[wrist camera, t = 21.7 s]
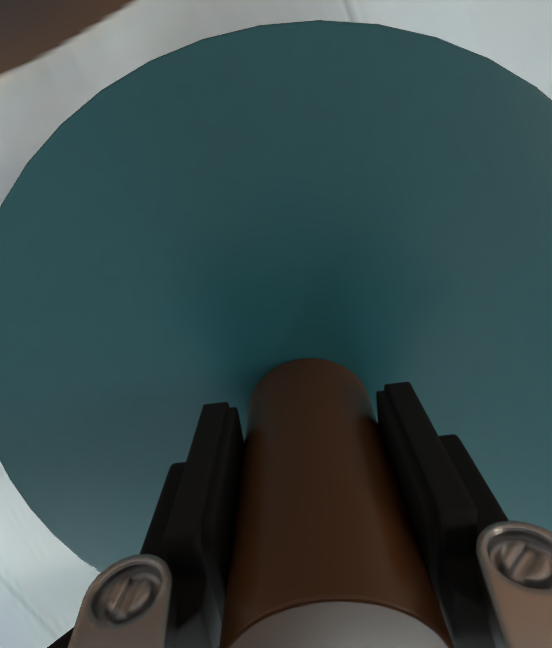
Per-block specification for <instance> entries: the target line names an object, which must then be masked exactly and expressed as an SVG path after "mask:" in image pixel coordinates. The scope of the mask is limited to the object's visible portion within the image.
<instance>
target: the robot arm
mask: <svg viewBox="0 0 552 648" xmlns="http://www.w3.org/2000/svg"><path fill="white" fill-rule="evenodd" d="M376 400H377V416H378V425H379V428H380V431H381V434H382V437H383V440H384V443H385V446H386V449H387V452H388V455H389V458H390V461H391V464H392V467H393V470H394V473H395V476H396V479H397V482H398V485H399V488H400V491H401V493H402V496H403V499H404V502H405V505H406V508H407V511H408V514H409V517H410V520H411V523H412V526H413V529H414V532H415V535H416V538H417V541H418V544H419V547H420V550H421V553H422V556H423V559H424V562H425V565H426V567H427V570H428V573H429V576H430V579H431V582H432V585H433V588H434V590H435V593H436V596H437V599H438V602H439V605H440V608H441V611H442V614H443V617H444V620H445V623H446V626H447V629H448V632H449V635H450V638H451V641H452V644H453V647H454V648H552V532H550V531H548V530H546V529H544V528H543V527H540V526H537V525H534V524H531V523H528V522H522V521H512V520H508V518H507V516H506V515H505V513H504V511H503V510H502V508H501V506H500V505H499V503H498V501H497V500H496V498H495V496H494V495H493V493H492V491H491V490H490V488H489V486H488V485H487V483H486V481H485V480H484V478H483V476H482V475H481V473H480V471H479V470H478V468H477V466H476V465H475V463H474V461H473V460H472V458H471V456H470V455H469V453H468V451H467V450H466V448H465V446H464V445H463V443H462V441H461V440H460V439H459V437H458V436H457V435H455V434H451V435H441V436H438V434H437V432H436V430H435V429H434V427H433V425H432V423H431V421H430V419H429V417H428V415H427V414H426V412H425V410H424V408H423V406H422V404H421V402H420V400H419V399H418V397H417V395H416V393H415V391H414V389H413V387H412V385H411V384H410V382H400V383H391V384H385V385H384V391H377V392H376ZM243 450H244V439H243V434H242V429H241V423H240V418H239V413H238V409H237V407H229V404H228V402H220V403H211V404H204V405H203V408H202V411H201V414H200V418H199V421H198V424H197V427H196V431H195V434H194V437H193V441H192V444H191V447H190V451H189V454H188V457H187V460H186V462H180V463H173V464H172V465H171V467H170V469H169V471H168V474H167V477H166V480H165V483H164V486H163V488H162V491H161V494H160V497H159V500H158V503H157V506H156V509H155V511H154V514H153V517H152V520H151V523H150V526H149V529H148V531H147V534H146V537H145V540H144V543H143V546H142V549H141V552H140V554H136V555H132V556H129V557H126V558H123V559H121V560H119V561H117V562H115V563H113V564H112V565H110V566H109V567H107V568H106V569H105V570H104V571H103V572H101V573H100V574H99V575H98V576H97V577H96V579H95V580H94V581H93V582H92V584H91V585H90V586H89V588H88V590H87V592H86V594H85V596H84V598H83V601H82V604H81V607H80V611H79V614H78V617H77V620H76V623H75V626H74V627H73V628H72V629H71V630H70V631H68V632H67V633H66V634H64V635H63V636H62V637H60V638H59V639H58V640H56V641H55V642H54V643H53V644H51V645H50V646H49V647H47V648H219V643H220V635H221V627H222V619H223V611H224V603H225V595H226V587H227V578H228V570H229V562H230V554H231V546H232V538H233V530H234V522H235V514H236V506H237V498H238V490H239V482H240V474H241V466H242V458H243Z"/></svg>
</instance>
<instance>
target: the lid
mask: <svg viewBox="0 0 552 648" xmlns="http://www.w3.org/2000/svg"><path fill="white" fill-rule="evenodd" d="M400 382H410V384H411V385H412V387H413V389H414V391H415V393H416V395H417V397H418V399H419V400H420V402H421V404H422V406H423V408H424V410H425V412H426V414H427V415H428V417H429V419H430V421H431V423H432V425H433V427H434V429H435V430H436V432H437V434H438V436H441V435H451V434H455V435H457V436H458V437H459V439H460V440H461V441H462V443H463V445H464V446H465V448H466V450H467V451H468V453H469V455H470V456H471V458H472V460H473V461H474V463H475V465H476V466H477V468H478V470H479V471H480V473H481V475H482V476H483V478H484V480H485V481H486V483H487V485H488V486H489V488H490V490H491V491H492V493H493V495H494V496H495V498H496V500H497V501H498V503H499V505H500V506H501V508H502V510H503V511H504V513H505V515H506V516H507V518H508V520H512V521H522V522H528V523H531V524H534V525H537V526H540V527H543V528H544V529H546V530H548V531H550V532H552V100H551V99H550V98H548V97H547V96H546V95H545V94H544V93H543V92H541V91H540V90H539V89H538V88H537V87H535V86H534V85H532V84H530V83H529V82H527V81H525V80H524V79H522V78H520V77H519V76H517V75H515V74H514V73H512V72H510V71H509V70H507V69H505V68H504V67H502V66H500V65H499V64H497V63H495V62H494V61H492V60H490V59H489V58H486V57H484V56H481V55H479V54H476V53H474V52H471V51H469V50H466V49H464V48H461V47H459V46H456V45H454V44H451V43H449V42H446V41H444V40H441V39H439V38H436V37H433V36H428V35H424V34H419V33H415V32H410V31H406V30H402V29H397V28H393V27H388V26H384V25H380V24H368V23H353V22H338V21H323V20H316V21H304V22H293V23H281V24H269V25H259V26H255V27H251V28H247V29H243V30H239V31H234V32H230V33H226V34H222V35H218V36H214V37H210V38H206V39H202V40H200V41H197V42H195V43H192V44H190V45H187V46H185V47H183V48H180V49H178V50H175V51H173V52H170V53H168V54H166V55H163V56H161V57H158V58H156V59H154V60H151V61H149V62H147V63H146V64H144V65H142V66H141V67H139V68H137V69H136V70H134V71H132V72H131V73H129V74H127V75H126V76H124V77H122V78H121V79H119V80H118V81H116V82H114V83H113V84H111V85H109V86H108V87H106V88H104V89H103V90H101V91H100V92H99V93H98V94H96V95H95V96H94V97H93V98H92V99H91V100H89V101H88V102H87V103H86V104H85V105H83V106H82V107H81V108H80V109H79V110H77V111H76V112H75V113H74V114H73V115H72V116H70V117H69V118H68V119H67V120H66V121H64V122H63V123H62V124H61V125H60V126H59V127H58V128H57V129H56V131H55V132H54V133H53V134H52V135H51V136H50V138H49V139H48V140H47V141H46V142H45V143H44V144H43V146H42V147H41V148H40V149H39V150H38V151H37V153H36V154H35V155H34V156H33V157H32V158H31V159H30V161H29V162H28V163H27V164H26V166H25V168H24V169H23V171H22V172H21V174H20V176H19V177H18V179H17V180H16V182H15V184H14V185H13V187H12V188H11V190H10V192H9V193H8V195H7V197H6V198H5V200H4V201H3V203H2V205H1V207H0V461H1V463H2V465H3V467H4V469H5V471H6V472H7V474H8V476H9V478H10V480H11V481H12V483H13V484H14V486H15V487H16V488H17V490H18V491H19V493H20V494H21V496H22V497H23V498H24V500H25V501H26V503H27V504H28V506H29V507H30V509H31V510H32V511H33V512H34V513H35V514H36V515H37V516H38V518H39V519H40V520H41V521H42V522H43V523H44V524H45V525H46V527H47V528H48V529H49V530H50V531H51V532H52V533H53V534H54V535H55V536H56V537H57V538H58V539H59V540H60V541H61V542H62V543H64V544H65V545H66V546H67V547H68V548H69V549H70V550H71V551H72V552H74V553H75V554H76V555H77V556H78V557H79V558H80V559H82V560H83V561H84V562H86V563H87V564H89V565H90V566H91V567H93V568H94V569H96V570H97V571H98V572H100V573H101V572H103V571H104V570H105V569H106V568H107V567H109V566H110V565H112V564H113V563H115V562H117V561H119V560H121V559H123V558H126V557H129V556H132V555H136V554H140V552H141V549H142V546H143V543H144V540H145V537H146V534H147V531H148V529H149V526H150V523H151V520H152V517H153V514H154V511H155V509H156V506H157V503H158V500H159V497H160V494H161V491H162V488H163V486H164V483H165V480H166V477H167V474H168V471H169V469H170V467H171V465H172V464H173V463H180V462H186V460H187V457H188V454H189V451H190V447H191V444H192V441H193V437H194V434H195V431H196V427H197V424H198V421H199V418H200V414H201V411H202V408H203V405H204V404H211V403H220V402H228V404H229V407H237V409H238V413H239V418H240V423H241V429H242V434H243V439H244V450H243V458H242V466H241V474H240V482H239V490H238V498H237V506H236V514H235V522H234V530H233V538H232V546H231V554H230V562H229V570H228V578H227V587H226V595H225V603H224V611H223V619H222V627H221V635H220V643H219V648H454V647H453V644H452V641H451V638H450V635H449V632H448V629H447V626H446V623H445V620H444V617H443V614H442V611H441V608H440V605H439V602H438V599H437V596H436V593H435V590H434V588H433V585H432V582H431V579H430V576H429V573H428V570H427V567H426V565H425V562H424V559H423V556H422V553H421V550H420V547H419V544H418V541H417V538H416V535H415V532H414V529H413V526H412V523H411V520H410V517H409V514H408V511H407V508H406V505H405V502H404V499H403V496H402V493H401V491H400V488H399V485H398V482H397V479H396V476H395V473H394V470H393V467H392V464H391V461H390V458H389V455H388V452H387V449H386V446H385V443H384V440H383V437H382V434H381V431H380V428H379V425H378V416H377V400H376V392H377V391H384V385H385V384H391V383H400Z"/></svg>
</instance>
